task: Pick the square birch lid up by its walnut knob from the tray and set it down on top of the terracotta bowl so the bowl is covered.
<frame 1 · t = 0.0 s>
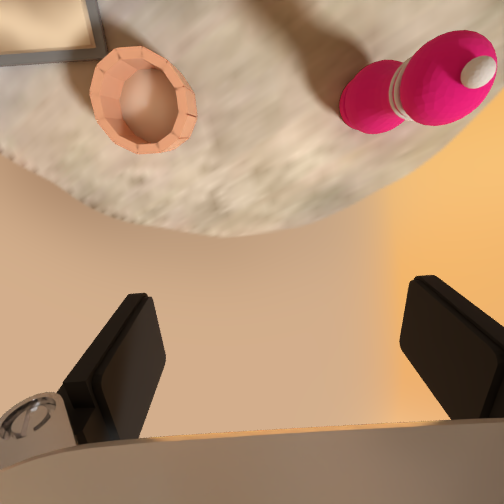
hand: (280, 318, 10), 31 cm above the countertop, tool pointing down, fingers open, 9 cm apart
pepper mill: (363, 103, 36), on the countertop
bowl: (156, 108, 36), on the countertop
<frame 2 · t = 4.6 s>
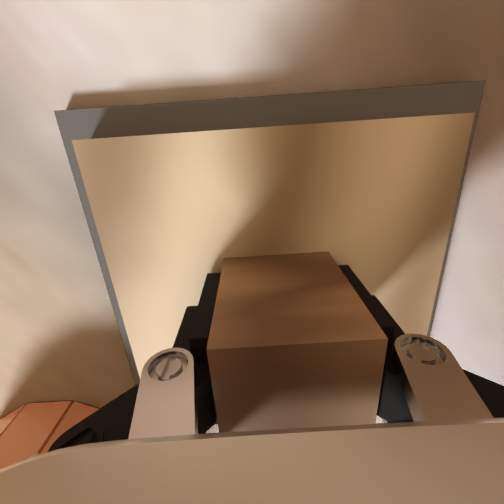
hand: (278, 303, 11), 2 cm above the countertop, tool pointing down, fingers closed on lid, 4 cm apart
tray: (273, 278, 13), on the countertop
bowl: (75, 458, 18), on the countertop
lid: (274, 285, 13), point 1 cm above the countertop, touching gripper, tray
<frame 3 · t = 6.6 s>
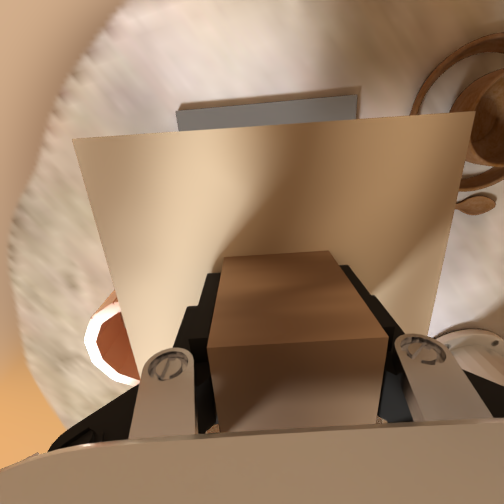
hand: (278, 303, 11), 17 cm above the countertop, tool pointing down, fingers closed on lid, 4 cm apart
tray: (270, 192, 27), on the countertop
bowl: (160, 310, 32), on the countertop
lid: (275, 284, 13), point 16 cm above the countertop, touching gripper
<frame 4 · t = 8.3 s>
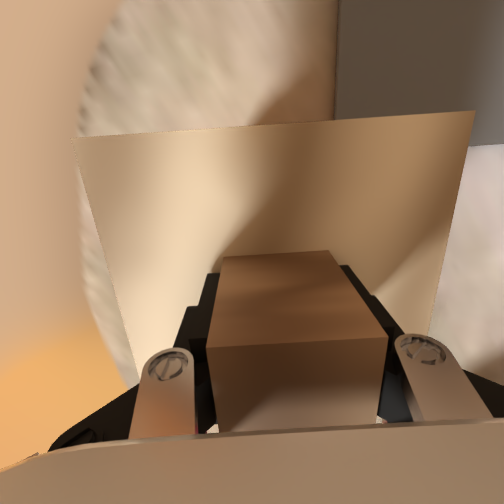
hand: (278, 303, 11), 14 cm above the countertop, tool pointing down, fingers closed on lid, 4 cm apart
tray: (446, 32, 20), on the countertop
lid: (274, 284, 13), point 13 cm above the countertop, touching gripper
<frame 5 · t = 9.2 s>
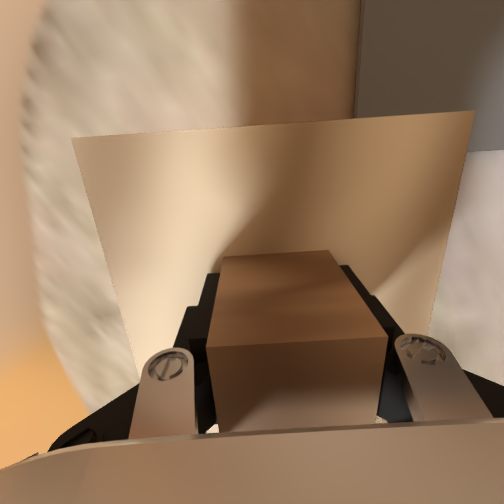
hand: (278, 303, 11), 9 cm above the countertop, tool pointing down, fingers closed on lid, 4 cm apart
lid: (274, 283, 13), point 7 cm above the countertop, touching gripper
when the fingers open (9 cm above the countertop, at t = 9.9 s): lid drops 1 cm, resting on bowl.
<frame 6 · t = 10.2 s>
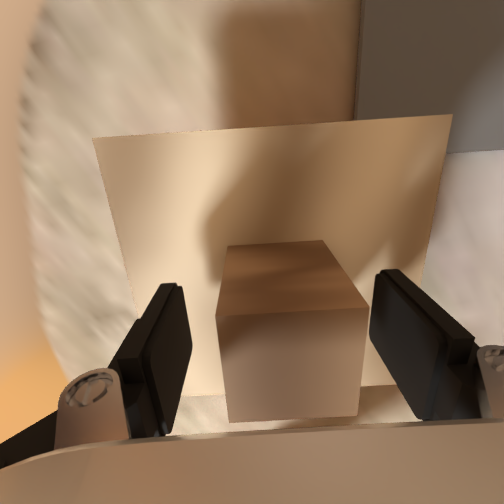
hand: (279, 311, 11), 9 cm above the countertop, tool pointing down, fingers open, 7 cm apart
lid: (274, 272, 14), point 6 cm above the countertop, touching bowl
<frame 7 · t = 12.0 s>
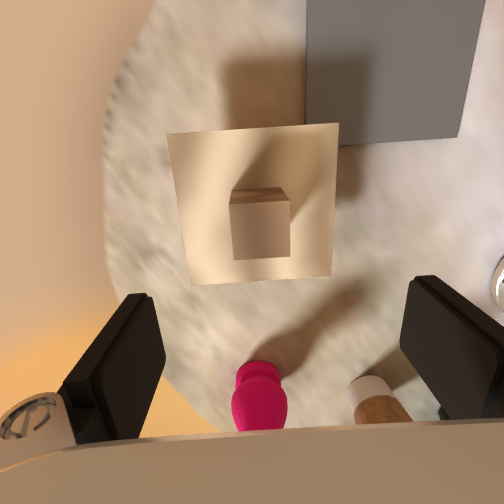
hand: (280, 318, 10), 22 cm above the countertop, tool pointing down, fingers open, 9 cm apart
tray: (388, 54, 26), on the countertop
pepper mill: (257, 375, 41), on the countertop
lid: (256, 209, 25), point 6 cm above the countertop, touching bowl
coffee cup: (366, 388, 42), on the countertop
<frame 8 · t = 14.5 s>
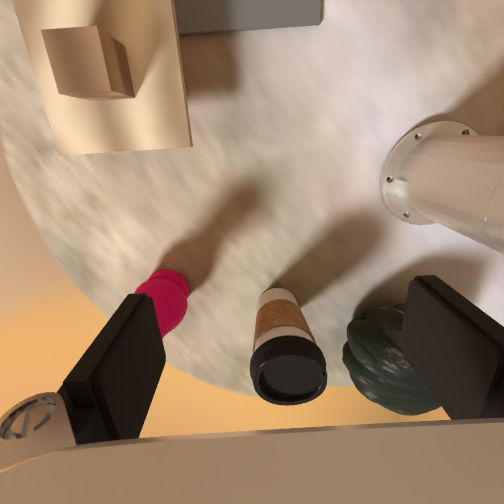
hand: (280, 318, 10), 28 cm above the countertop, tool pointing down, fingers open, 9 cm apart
squash: (378, 328, 46), on the countertop
pepper mill: (168, 287, 42), on the countertop
lid: (113, 76, 27), point 6 cm above the countertop, touching bowl
coffee cup: (276, 303, 44), on the countertop
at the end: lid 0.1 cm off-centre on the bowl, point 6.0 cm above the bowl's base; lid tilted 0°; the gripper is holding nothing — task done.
